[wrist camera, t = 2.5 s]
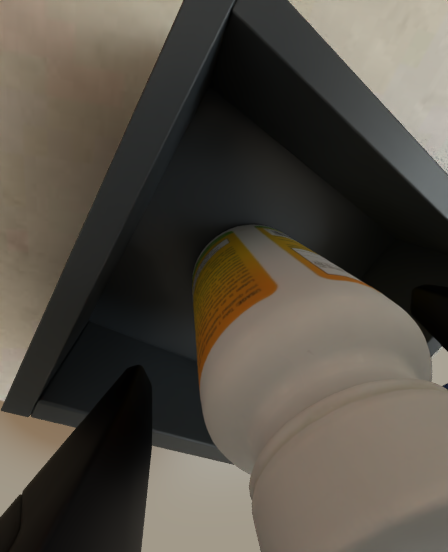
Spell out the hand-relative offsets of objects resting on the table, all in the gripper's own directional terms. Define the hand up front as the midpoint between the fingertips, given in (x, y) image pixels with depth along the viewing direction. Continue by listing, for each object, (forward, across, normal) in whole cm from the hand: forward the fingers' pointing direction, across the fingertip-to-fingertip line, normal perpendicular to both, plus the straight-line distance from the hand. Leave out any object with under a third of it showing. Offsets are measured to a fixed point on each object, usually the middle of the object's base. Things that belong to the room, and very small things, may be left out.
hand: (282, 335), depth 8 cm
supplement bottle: (+5, 0, 0) cm, 5 cm away
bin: (+5, 0, 0) cm, 5 cm away
